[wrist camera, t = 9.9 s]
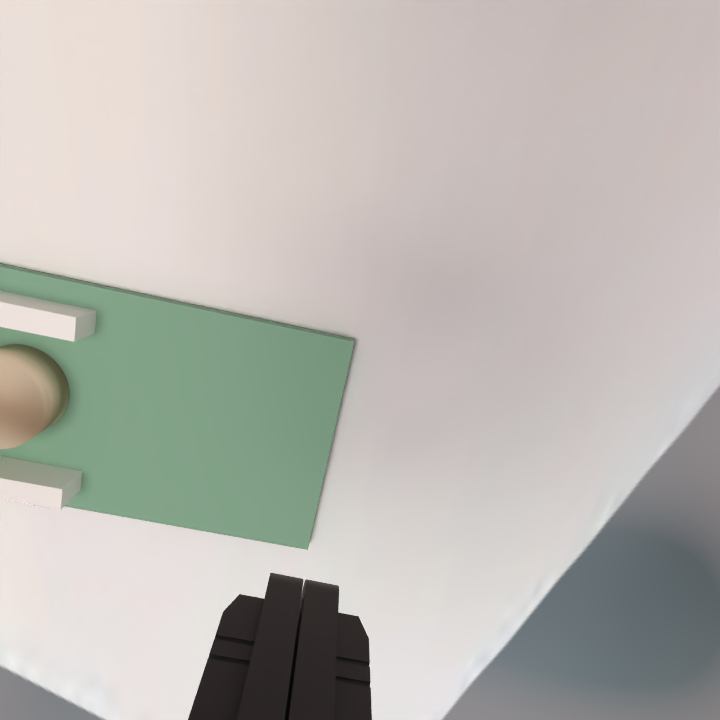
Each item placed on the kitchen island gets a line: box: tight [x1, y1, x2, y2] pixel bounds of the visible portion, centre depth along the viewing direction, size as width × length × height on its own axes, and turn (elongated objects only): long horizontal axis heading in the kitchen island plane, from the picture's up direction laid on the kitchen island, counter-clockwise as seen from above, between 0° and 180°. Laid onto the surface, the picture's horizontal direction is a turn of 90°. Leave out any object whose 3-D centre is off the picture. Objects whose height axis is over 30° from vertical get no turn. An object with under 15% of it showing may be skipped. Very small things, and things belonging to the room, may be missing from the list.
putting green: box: [0, 263, 354, 550], centre depth 34 cm, size 16×26×1 cm, turn 77°
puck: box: [0, 344, 70, 449], centre depth 32 cm, size 6×6×3 cm
